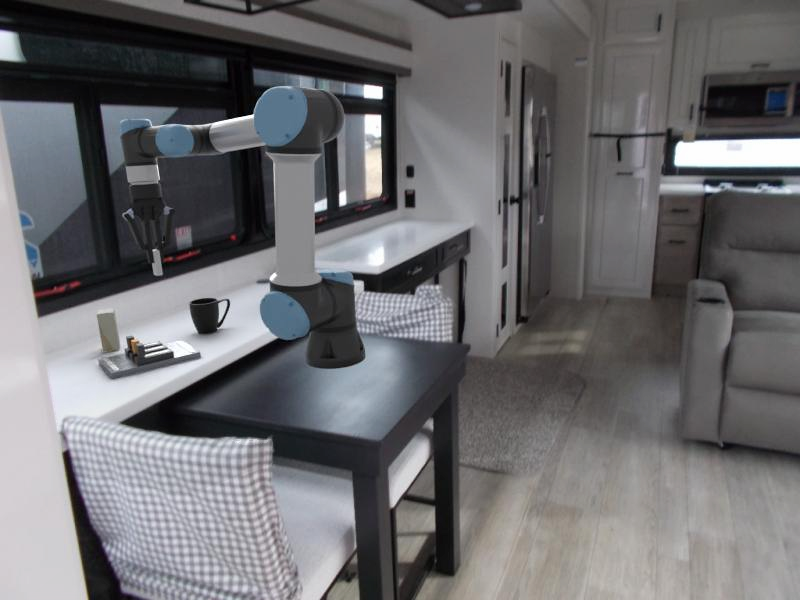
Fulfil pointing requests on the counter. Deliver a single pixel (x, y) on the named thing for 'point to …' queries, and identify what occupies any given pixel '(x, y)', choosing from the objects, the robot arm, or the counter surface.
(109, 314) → the box
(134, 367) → the panel
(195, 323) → the mug
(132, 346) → the breaker handle
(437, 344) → the counter surface
